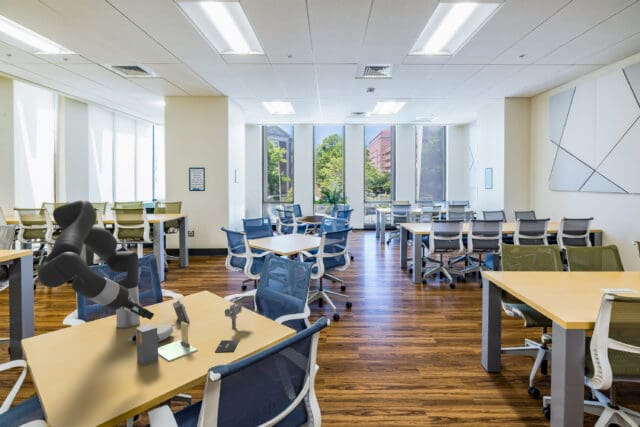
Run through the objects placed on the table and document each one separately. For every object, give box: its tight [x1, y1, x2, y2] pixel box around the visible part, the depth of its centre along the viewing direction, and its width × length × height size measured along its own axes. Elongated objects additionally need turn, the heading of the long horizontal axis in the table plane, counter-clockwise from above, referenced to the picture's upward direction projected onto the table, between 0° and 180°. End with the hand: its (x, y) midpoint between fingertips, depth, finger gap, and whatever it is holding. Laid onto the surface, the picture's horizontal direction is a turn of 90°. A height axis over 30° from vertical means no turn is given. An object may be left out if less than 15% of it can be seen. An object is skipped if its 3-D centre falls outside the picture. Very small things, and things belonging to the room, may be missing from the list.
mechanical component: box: [224, 302, 243, 330], centre depth 152 cm, size 3×10×10 cm, turn 158°
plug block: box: [135, 323, 159, 367], centre depth 124 cm, size 6×5×12 cm
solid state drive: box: [214, 339, 240, 354], centre depth 135 cm, size 7×10×1 cm
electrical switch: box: [172, 298, 190, 324], centre depth 163 cm, size 9×5×9 cm, turn 30°
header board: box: [158, 322, 199, 362], centre depth 131 cm, size 13×11×10 cm
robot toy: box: [127, 323, 177, 344], centre depth 142 cm, size 12×4×15 cm
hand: (144, 312), depth 120 cm, fingers open, 8 cm apart
